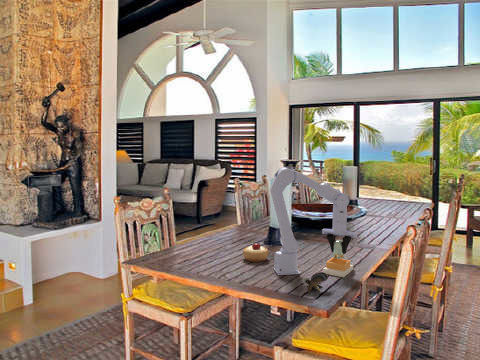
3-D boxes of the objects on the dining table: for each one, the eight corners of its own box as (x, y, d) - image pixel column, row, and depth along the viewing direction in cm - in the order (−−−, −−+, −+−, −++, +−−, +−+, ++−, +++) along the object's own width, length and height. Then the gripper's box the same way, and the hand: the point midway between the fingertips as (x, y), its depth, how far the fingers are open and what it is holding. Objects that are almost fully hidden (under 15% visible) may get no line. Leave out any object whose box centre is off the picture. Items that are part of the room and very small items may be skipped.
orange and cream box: (343, 277, 164) (344, 266, 163) (322, 273, 168) (323, 262, 168) (353, 269, 174) (353, 259, 173) (332, 265, 178) (333, 255, 178)
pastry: (266, 265, 181) (266, 245, 180) (240, 262, 184) (240, 243, 182) (269, 256, 193) (270, 238, 192) (245, 254, 195) (245, 236, 194)
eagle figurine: (322, 293, 144) (332, 281, 151) (311, 275, 145) (321, 265, 152) (307, 299, 149) (317, 287, 156) (296, 282, 149) (307, 271, 156)
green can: (335, 259, 168) (335, 242, 167) (331, 255, 172) (331, 239, 171) (345, 258, 168) (345, 242, 168) (341, 255, 173) (341, 239, 172)
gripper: (359, 221, 168) (358, 252, 170) (326, 217, 176) (325, 247, 177) (354, 224, 162) (353, 256, 164) (320, 220, 170) (319, 251, 171)
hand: (338, 252), depth 170 cm, fingers closed on green can, 4 cm apart
